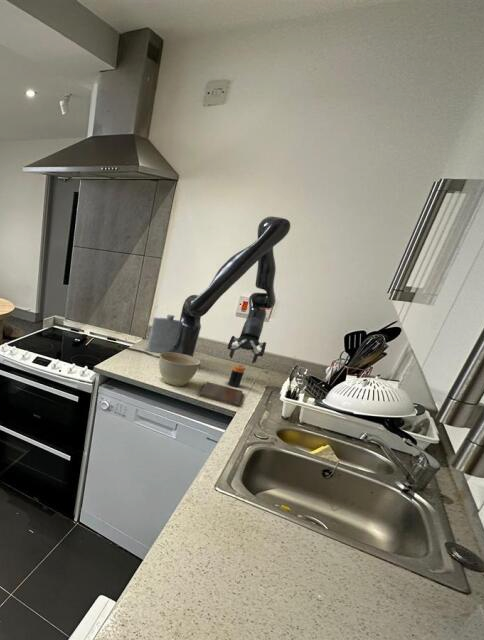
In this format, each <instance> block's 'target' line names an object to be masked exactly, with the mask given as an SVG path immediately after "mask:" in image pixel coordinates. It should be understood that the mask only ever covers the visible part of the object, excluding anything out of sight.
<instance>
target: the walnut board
mask: <svg viewBox="0 0 484 640" xmlns="http://www.w3.org/2000/svg"><path fill="white" fill-rule="evenodd" d="M242 395H243V390H241V389H237V388H234V387H229V386H226V385H221V384H217V383H214V382H210V381H206V382H205V384H204V386H203V388H202V390H201V391H200V393H199V397H203V398H205V399H210V400H213V401H216V402H220V403H224V404H227V405H231V406H234V407H239V405H240V402H241V398H242Z"/></svg>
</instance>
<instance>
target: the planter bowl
mask: <svg viewBox="0 0 484 640" xmlns="http://www.w3.org/2000/svg"><path fill="white" fill-rule="evenodd" d="M159 356H160V358H159V361H158V368H159V373H160V375H161V377H162V378H161V379H162V381H163V382H164V383H166V384H168V385H171V386H176V387H177V386H178V387H180V386H181V387H183V386H185V385H186V384H187V382H189V381H190V380H192V378H194V376H195V374H196V373H197V371H198V369H199V366H200V364H201V361H200V360H199V359H198V358H196V357H194V356H193V357H191V356H188V355H184V354H179V353H171V352H167V353H159Z"/></svg>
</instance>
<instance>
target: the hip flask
mask: <svg viewBox="0 0 484 640" xmlns="http://www.w3.org/2000/svg"><path fill="white" fill-rule="evenodd" d="M175 316H176V315H173V314H167V315H166V317H153V319H152V324H151V329H150V333H149V337H148V340H147V341H148V342H147V347H146V351H148V352H152V353H158V354H162V353H164V352H168V351H170V350H171V349H172V348H173V347H174V344H175V343H176V339H177V335H178V331H179V327H180V319H174V318H175Z"/></svg>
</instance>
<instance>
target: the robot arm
mask: <svg viewBox="0 0 484 640" xmlns="http://www.w3.org/2000/svg"><path fill="white" fill-rule="evenodd" d="M290 230H291V222H290V221H289V220H288V219H287V218H284V217H280V216H266V217H265V218H263V219H262V220H261V221H260V223H259V224H258V227H257V239H256V240H254V242H252V244H250V245H248V246H247V247H245V248H244V249H242V250H240V251H238V252H236V253H235V254H233V255H232V256H231V257H230V258H229V259H228V260H227V261H226V262H225V263H224V264H222V266H220V268H219V269H218V271H216V273H215V276H214V277H213V279H212V280H211V282H210V284H209V285H208V287H206V288H205V289H204V290H203V291H202V292H201V293H200V294H191V295H189V296H188V297H187V298H186V299H184V300H185V301H184V302H183V305H182V308H181V312H180V317H179V320H180V327H179V331H178V335H177V339H176V343H175V344H174V347H173V348H172V349H171V350H170V351H168V352H171V353H179V354H184V355H188V356H191V357H194V354H195V350H196V347H197V344H198V340H199V336H200V332H201V329H202V325H201V319H202V317H203V316H205V315H206V314H207V313H208V312H209V311H210V310H211V309H212V307H213V306H214V305H215V304H216V303H217V302H218V300H219V299H220V298H221V297H222V296H223V295H224V294H225V293H226V292H227V291H228V290H230V289H231V288H232V286H233V285H234V284H236V282H238V281H239V280H240V279H241V278H242V277H243V276H244V275H245V274H246V273H247V272H248V271H249V270H250V269H251V268H252V267H253V266H254V265H255V264H256V263H257V270H256V276H255V277H256V278H255V288H257V289H260V290H263V291H265V292H253V293H251V294H250V295H249V297H248V313H247V315H246V316H247V317H246V320H245V322H244V323H243V327H242V330H241V332H240V335H239V337H235V335H232V336H231V338H230V339H229V342H228V343H227V348H226V349H227V350H230V351H229V355H228V356H229V358H230V359H233V357H234V354H235V351H237V350H239V349H242V350H247V351H251V352H252V354H253V357H252V361H251V364H254V363H256V362H257V360H258V357H263V356H264V354H265V350H266V347H267V342H265V341H263V342H260V337H261V335H262V332H263V330H264V329H263V328H264V323H265V320H266V318H267V311H266V310H270V309H272V308H273V307H274V306H275V304H276V300H277V299H276V293H275V286H274V285H275V277H276V271H277V268H276V267H277V266H276V259H275V254H274V247H275V246H277V244H279V243H280V242H281V241H282V240H284V239H285V237H287V235H288V234H289V232H290ZM235 342H237V343H236V344H234V343H235ZM233 344H234V345H233ZM258 346H259V348H260V351H259V350H258ZM116 347H118V348H119V347H122V348H125V349H127V350H132V351H135V352H139V353H144V354H147V355H148V356H151V357H153V358H154V357H155V358H159V359H160V355H154V354H152V353H149V352H147V351H144V350H140V349H137V348H131V347H128V346H126V345H123V344H118V345H116ZM164 353H167V352H164Z"/></svg>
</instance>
